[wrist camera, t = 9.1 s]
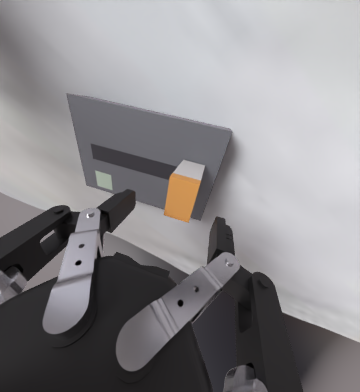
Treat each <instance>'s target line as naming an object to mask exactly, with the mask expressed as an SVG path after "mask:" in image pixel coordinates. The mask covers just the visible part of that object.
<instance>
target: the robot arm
mask: <svg viewBox="0 0 360 392" xmlns="http://www.w3.org/2000/svg"><path fill="white" fill-rule="evenodd" d="M135 204H136V192H135V191H133V190H130V189H126V190H125V191H123V192H119V193H117V194H115V195H113V196H112V197H110V198H109V199H108V200H106V201H105V202H104V203H102V204H101V205H100V206H98V207H97V208H88V209H85V210H83V211H82V212H72V211H71V210H70V208H69V207H68V206H65V205H60V206H55V207H52V208H50V209H49V210H47V211H45V212H43V213H42V214H40V215H38V216H37V217H35V218H33V219H31V220H30V221H28V222H26V223H25V224H23V225H21V226H19V227H18V228H16V229H14V230H13V231H11V232H9V233H7V234H6V235H4V236H3V237H1V238H0V392H213V388H212V384H211V381H210V378H209V375H208V372H207V369H206V366H205V363H204V360H203V357H202V354H201V351H200V348H199V345H198V342H197V339H196V336H195V333H194V330H193V327H192V323H193V322H194V321H195V320H196V319H197V318H198V317H199V316H200V315H201V314H202V312H203V311H204V310H205V309H206V308H207V307H208V305H209V304H210V303H211V302H212V301H213V300H214V299H215V298H216V297H217V296H218V295H219V294H220V292H221V291H222V290H223V291H224V292H225V293H227V294H228V295H229V296H231V297H232V298H233V299H235V329H236V365H237V367H236V368H233V369H231V370H230V371H229V372H228V373H227V375H226V378H225V385H224V390H223V392H303V389H302V385H301V382H300V378H299V374H298V371H297V367H296V363H295V359H294V356H293V352H292V348H291V344H290V341H289V337H288V333H287V330H286V326H285V322H284V319H283V315H282V311H281V307H280V304H279V300H278V296H277V292H276V289H275V286H274V284H273V282H272V281H271V280H270V279H269V278H268V277H267V276H266V275H265V274H263V273H260V272H255V273H253V274H252V273H250V272H249V271H247V270H246V269H244V268H243V267H242V266H241V265H240V263H239V261H238V259H237V258H236V257H235V251H234V242H233V233H232V230H231V228H230V226H228V225H226V224H225V219H224V218H221V217H216V218H215V221H214V223H213V225H212V228H211V230H210V236H209V247H208V258H207V265H206V266H205V267H203V266H202V267H200V268H199V269H197V270H196V271H195V272H193V273H192V274H191V275H190V276H188V277H187V278H186V279H184V280H183V281H182V282H181V283H179V284H178V285H177V284H176V283H175V281H174V280H173V279H172V278H171V277H169V271H167V270H164V269H161V268H159V267H154V266H144V265H140V264H138V263H137V262H136V261H134V260H133V259H132V258H130V257H129V256H126V255H123V254H121V253H118V252H116V254H115V255H114V256H105V257H104V233H105V232H106V231H108V232H110V233H112V232H113V231H114V230H115V229H116V227H117V226H118V225H119V224H120V223H121V222H122V221H123V220H124V219H125V218H126V217H127V216H128V215H129V214H130V213H131V211H132V210H133V209H134V207H135ZM52 230H54V232H55V233H53V234H52V235H51V236H49V237H48V238H47V239H45V240H44V241H43V242H41V243H40V240H41V239H42V238H43V237H44V236H45V235H47V234H48V233H49V232H51V231H52ZM66 246H67V248H66V252H65V255H64V259H63V262H62V266H61V269H60V273H59V276H58V277H55V278H53V279H51V280H49V281H46V282H44V283H42V284H40V285H38V286H35V287H34V288H31V289H29V290H27V291H24V292H23V289H24V288H25V286H26V284H27V281H29V280H30V279H31V278H32V277H33V276H34V275H35V274H36V273H37V272H38V271H39V270H40V269H42V268H43V267H44V266H45V265H46V264H47V263H48V262H49V261H51V260H52V259H53V258H54V257H55V256H56V255H57V254H58V253H59V252H60V251H62V250H63V249H64V248H65V247H66Z"/></svg>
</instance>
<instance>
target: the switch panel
mask: <svg viewBox="0 0 360 392" xmlns="http://www.w3.org/2000/svg"><path fill="white" fill-rule="evenodd" d="M66 94H67V93H66ZM67 98H68V103H69V107H70V112H71V116H72V121H73V126H74V130H75V135H76V139H77V144H78V148H79V153H80V158H81V162H82V167H83V171H84V176H85V180H86V185H87V186H90V187H94V188H97V189H100V190H103V191H107V192H110V193H113V194H117V193H119V192H123V191H125V190H126V189H130V190H133V191H135V192H136V201H139V202H142V203H145V204H149V205H152V206H155V207H158V208H162V209H165V205H166V198H167V192H168V185H169V179H170V176H171V174H172V173H173V172H174V171H175V170H176V168H177V167H178V166H179V165H180V163H181V162H182V161H183V160H186V161H190V162H194V163H198V164H202V165H205V168H204V172H203V175H202V179H201V183H200V186H199V189H198V193H197V196H196V199H195V203H194V206H193V210H192V213H191V216H190V217H191V218H194V219H197V220H201V218H202V215H203V212H204V209H205V206H206V204H207V201H208V198H209V195H210V193H211V190H212V187H213V184H214V182H215V179H216V176H217V173H218V170H219V168H220V165H221V162H222V159H223V157H224V154H225V151H226V148H227V145H228V143H229V140H230V137H231V134H232V130H231V129H229V128H224V127H220V126H215V125H211V124H207V123H202V122H198V121H194V120H189V119H185V118H180V117H176V116H172V115H167V114H163V113H159V112H154V111H150V110H145V109H141V108H137V107H132V106H128V105H123V104H119V103H115V102H110V101H106V100H102V99H97V98H93V97H87V96H80V95H74V94H67Z"/></svg>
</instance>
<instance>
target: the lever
mask: <svg viewBox="0 0 360 392" xmlns="http://www.w3.org/2000/svg"><path fill="white" fill-rule="evenodd" d="M204 168H205V165H202V164H198V163H194V162H190V161H186V160H183V161H182V162H181V163H180V165H179V166H178V167H177V168H176V170H175V171H174V172H173V173H172V174H171V176H170V179H169V185H168V192H167V198H166V205H165V211H164V215H165V216H169V217H172V218H175V219H178V220H181V221H185V222H188V223H189V220H190V216H191V213H192V210H193V206H194V203H195V199H196V196H197V193H198V189H199V186H200V183H201V179H202V175H203V172H204Z"/></svg>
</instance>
